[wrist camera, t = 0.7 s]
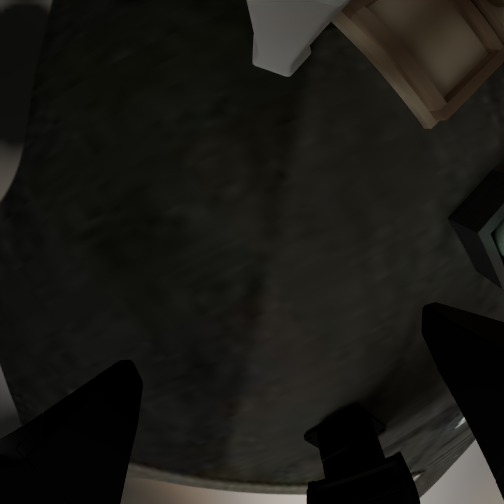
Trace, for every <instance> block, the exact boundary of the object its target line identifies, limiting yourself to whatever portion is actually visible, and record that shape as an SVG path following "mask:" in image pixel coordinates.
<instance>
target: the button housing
mask: <svg viewBox="0 0 504 504" xmlns="http://www.w3.org/2000/svg"><path fill="white" fill-rule="evenodd" d="M503 219H504V173H500V172H496V171H491V172H490V173H489V174H488V176H487V177H486V178H485V179H484V180H483V181H482V182H481V184H480V185H479V186H478V187H477V188H476V189H475V190H474V191H473V192H472V193H471V195H470V196H469V197H468V198H467V199H466V200H465V201H464V202H463V203H462V204H461V205H460V206H459V207H458V209H457V210H456V211H455V212H454V213H453V214H452V215H451V216H450V217H449V218H448V220H449V221H450V223H451V225H452V227H453V228H454V230H455V232H456V233H457V235H458V237H459V239H460V241H461V242H462V244H463V246H464V248H465V250H466V252H467V254H468V256H469V257H470V259H471V261H472V263H473V265H474V267H475V269H476V271H478V272H479V273H481V274H482V275H483V276H485V277H486V278H488V279H489V280H490V281H492V282H493V283H494V284H496V285H497V286H499V287H500V288H501V289H504V256H502V255H500V254H499V253H498V250H497V248H496V246H495V243H494V241H493V239H492V237H491V235H490V234H491V233H492V231H493V230H494V229H495V228H496V227H497V226H498V224H499V223H500V222H501V221H502V220H503Z"/></svg>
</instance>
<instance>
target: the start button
mask: <svg viewBox="0 0 504 504" xmlns="http://www.w3.org/2000/svg"><path fill="white" fill-rule="evenodd" d="M490 235H491V237H492V239H493V241H494V243H495V246H496V248H497V250H498V253H499V254H500V255H502V256H504V219H503V220H502V221H501V222H500V223H499V224H498V226H497V227H496V228H495V229H494V230H493V231H492V233H491V234H490Z"/></svg>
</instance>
